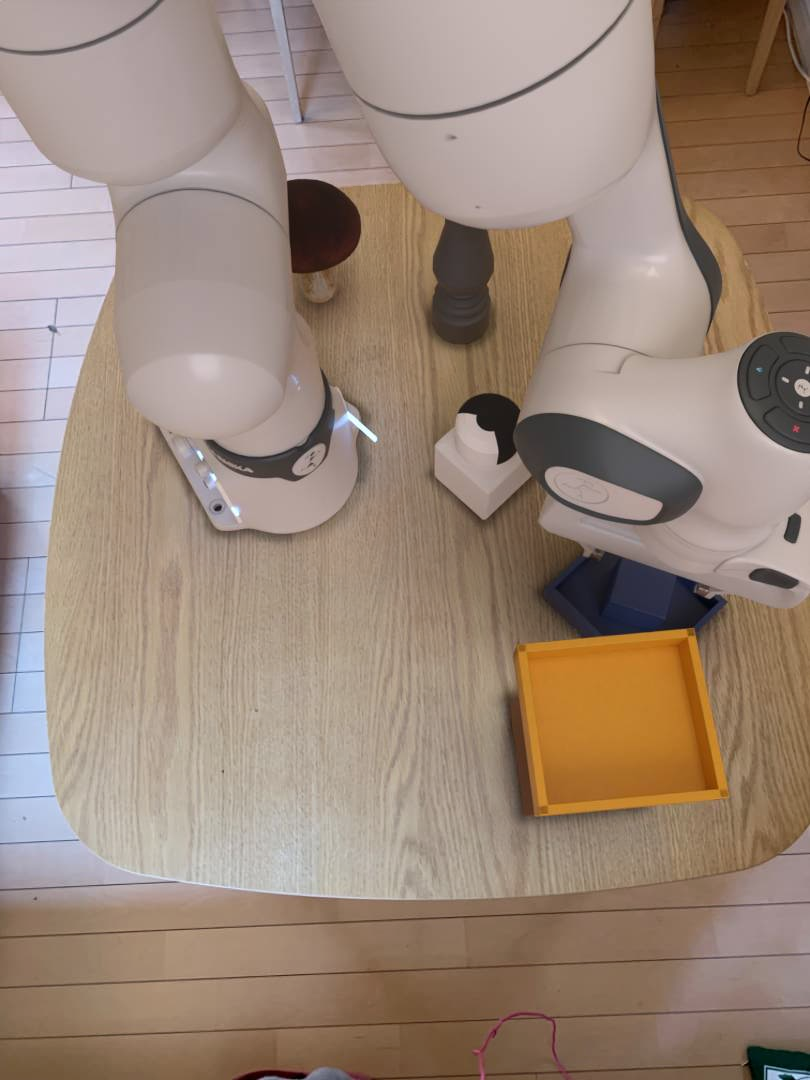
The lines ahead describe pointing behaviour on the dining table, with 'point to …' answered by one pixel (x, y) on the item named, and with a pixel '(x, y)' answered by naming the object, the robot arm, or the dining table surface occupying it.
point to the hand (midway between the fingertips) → (647, 569)
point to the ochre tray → (614, 724)
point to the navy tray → (586, 588)
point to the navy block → (638, 594)
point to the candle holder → (462, 283)
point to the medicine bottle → (482, 454)
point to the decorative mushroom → (320, 234)
